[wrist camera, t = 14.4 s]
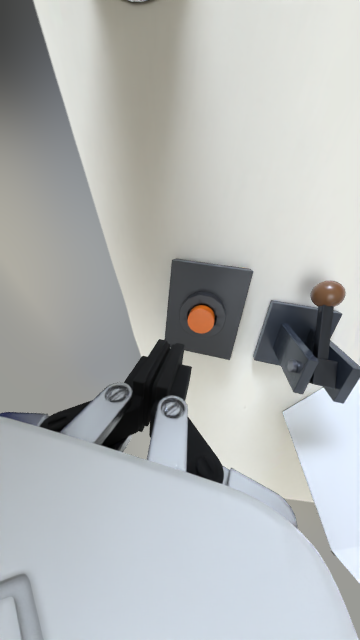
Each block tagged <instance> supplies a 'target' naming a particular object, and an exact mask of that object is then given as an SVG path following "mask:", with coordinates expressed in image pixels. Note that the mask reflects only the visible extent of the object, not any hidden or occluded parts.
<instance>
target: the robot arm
mask: <svg viewBox="0 0 360 640" xmlns="http://www.w3.org/2000/svg"><path fill="white" fill-rule="evenodd" d="M128 1H131V2H143V1H146V0H128ZM183 353H184V344H180V343H176V344H175V345H174V344H172V346H171V348H170V344H169V343H168V341H166V340H161V339H159V340H158V342H157V343H156V345H155V346H154V348H153V350H152V351H151V353H150V354H149V356H148V357H145V356H142V357H141V359H140V360H139V361H138V363H137V364H136V366H135V367H134V369H133V370H132V372H131V373H130V374H129V376H128V377H127V379H126V380H125V382H124V383H113V384H111V385H109V386H108V387H106V388H105V389H104V390H103V391H102V392H101V393H100V394H99V395H98V396H97V397H96V398H95V399H94V400H92V401H89V402H86V403H83V404H80V405H78V406H75V407H72V408H69V409H67V410H63V411H60V412H58V413H56V414H53V415H51V416H48V414H40V413H16V412H6V413H1V414H0V640H359V639H358V637H357V634H356V631H355V629H354V626H353V624H352V621H351V618H350V616H349V613H348V611H347V608H346V606H345V603H344V601H343V599H342V596H341V594H340V592H339V589H338V587H337V585H336V583H335V581H334V579H333V577H332V575H331V573H330V571H329V569H328V567H327V565H326V564H325V562H324V561H323V559H322V557H321V555H320V554H319V552H318V551H317V550H316V548H315V547H314V546H313V545H312V544H311V543H310V541H309V540H308V539H307V538H306V537H305V536H304V535H303V534H302V533H301V532H300V531H299V530H298V528H297V522H296V517H295V514H294V513H293V510H292V509H291V506H290V505H289V504H288V503H287V502H286V500H285V499H284V498H282V497H281V496H280V495H279V494H277V493H275V492H274V491H272V490H270V489H268V488H266V487H265V486H263V485H261V484H259V483H258V482H256V481H254V480H252V479H250V478H249V477H247V476H245V475H243V474H241V473H240V472H238V471H236V470H234V469H233V468H231V469H230V470H229V469H227V468H226V467H224V466H222V464H221V462H220V461H219V459H218V458H217V456H216V455H215V453H214V452H213V451H212V449H211V448H210V447H209V445H208V444H207V442H206V441H205V440H204V438H203V437H202V436H201V434H200V433H199V431H198V430H197V429H196V427H195V426H194V424H193V423H192V422H191V420H190V419H189V418H188V406H187V404H186V402H185V399H186V395H187V390H188V386H189V381H190V375H191V369H192V367H190V366H186V365H182V360H183ZM149 422H150V437H151V441H150V445H149V451H148V456H147V460H146V459H142V458H139V457H136V456H133V455H130V454H126V453H123V451H124V449H125V448H126V446H127V445H128V443H129V442H130V440H131V438H132V434H134V433H136V432H138V431H140V432H142V431H143V429H144V426H148V425H149Z"/></svg>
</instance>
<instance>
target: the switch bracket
mask: <svg viewBox="0 0 360 640" xmlns="http://www.w3.org/2000/svg"><path fill="white" fill-rule="evenodd" d="M317 315H318V308H315V307H309V306H303V305H297V304H291V303H284V302H278V301H272V300H271V303H270V306H269V309H268V312H267V315H266V318H265V321H264V324H263V328H262V331H261V334H260V337H259V340H258V343H257V346H256V349H255V352H254V356H253V357H254V360H256V361H261V362H265V363H270V364H275V365H280V366H281V367H282V369H283V371H284V373H285V375H286V377H287V380H288V382H289V384H290V386H291V388H292V390H293V392H295V393H299V394H303V393H304V391H305V389H306V387H307V385H308V383H309V381H310V379H311V377H312V375H313V373H314V371H315V369H316V367H317V365H318V363H319V361H318V360H317V358H316V357H315V356H314V355H313V349H314V340H315V332H316V323H317ZM341 316H342V313H340V312H338V311H334V310H333V318H332V327H331V336H332V334H333V332H334V330H335V328H336V326H337V324H338V322H339V320H340V318H341ZM331 336H330V338H331ZM328 360H331V361H336V362H338V366H337V376H336V386H335V389H334V388H329V387H325V386H323V387H324V389H325V390H326V392H327V393H328V395H329V396H330V397H331V399H332V400H333V401H334V402H337V403H342V404H344V402H345V401H346V399H347V398H348V396H349V394H350V393H351V391H352V390H353V388H354V386H355V385H356V383H357V382H358V380H359V379H360V366H359V365H357V364H356V363H355V362H354V361H353V360H352V359H351V358H350V357H348V356H347V355H346V354H345V353H344V352H343V351H342V350H341V349H339V348H338V347H337V346H336V345H335V344H334V343H333V342H332V341H330V345H329V355H328Z"/></svg>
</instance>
